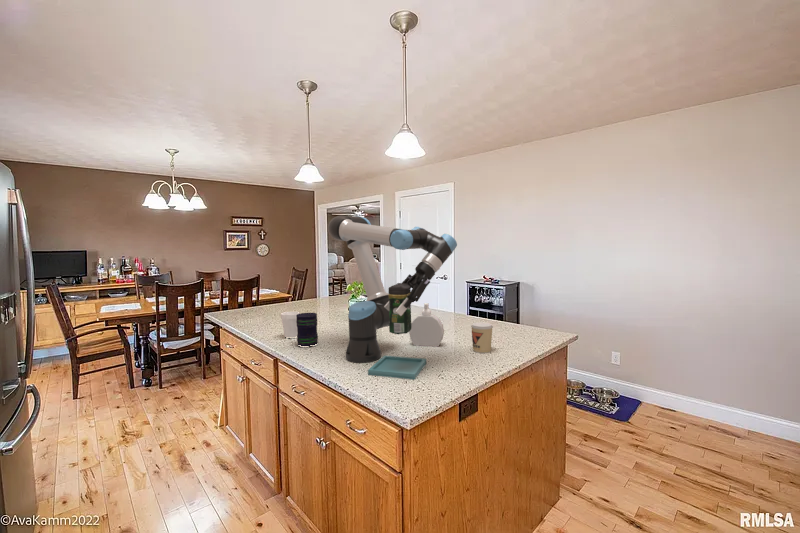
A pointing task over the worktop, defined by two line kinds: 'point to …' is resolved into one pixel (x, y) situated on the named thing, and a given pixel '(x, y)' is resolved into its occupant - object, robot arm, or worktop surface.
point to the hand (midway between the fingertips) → (392, 311)
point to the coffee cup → (481, 337)
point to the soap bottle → (426, 329)
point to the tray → (398, 367)
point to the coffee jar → (395, 300)
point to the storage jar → (307, 329)
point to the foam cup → (289, 323)
